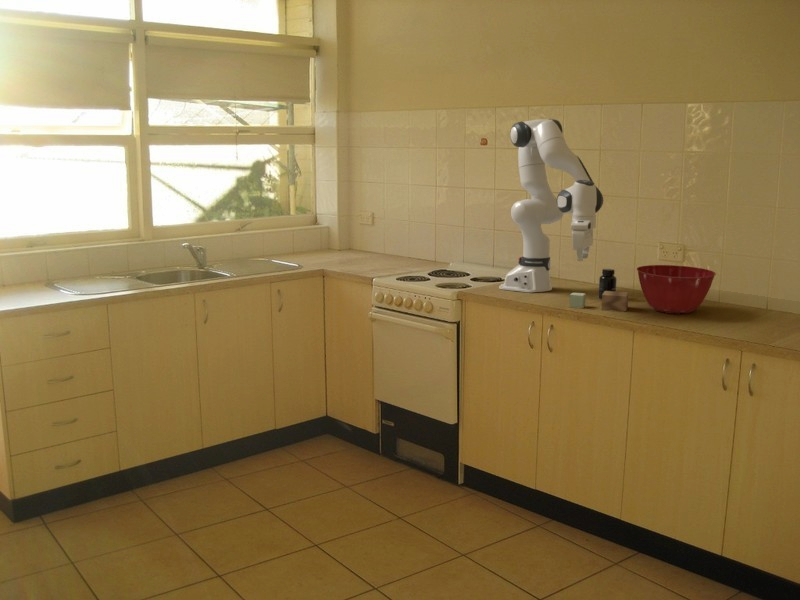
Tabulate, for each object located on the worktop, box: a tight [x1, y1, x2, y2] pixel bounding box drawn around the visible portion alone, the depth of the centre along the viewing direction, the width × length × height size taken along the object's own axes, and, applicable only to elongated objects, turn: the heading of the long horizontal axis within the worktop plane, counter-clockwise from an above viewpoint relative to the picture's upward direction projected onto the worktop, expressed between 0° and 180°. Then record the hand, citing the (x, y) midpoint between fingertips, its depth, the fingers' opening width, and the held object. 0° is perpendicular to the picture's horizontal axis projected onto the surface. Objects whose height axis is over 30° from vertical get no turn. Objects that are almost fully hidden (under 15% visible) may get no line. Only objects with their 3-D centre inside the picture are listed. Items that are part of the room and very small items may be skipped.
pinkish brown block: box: [601, 291, 630, 312], centre depth 315 cm, size 9×9×6 cm
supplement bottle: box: [597, 268, 617, 300], centre depth 334 cm, size 7×7×12 cm
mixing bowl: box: [636, 264, 717, 315], centre depth 311 cm, size 28×28×16 cm
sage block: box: [568, 292, 586, 309], centre depth 319 cm, size 5×5×5 cm
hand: (582, 259), depth 315 cm, fingers open, 8 cm apart
